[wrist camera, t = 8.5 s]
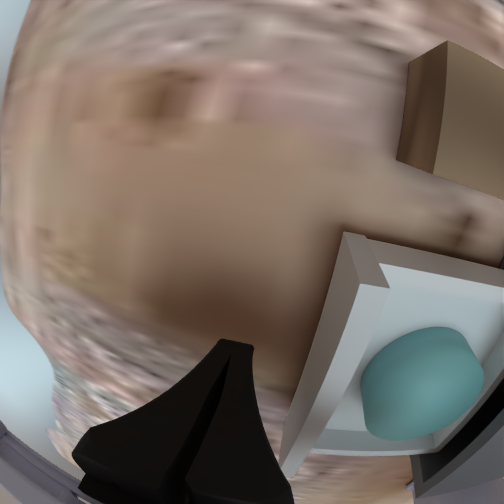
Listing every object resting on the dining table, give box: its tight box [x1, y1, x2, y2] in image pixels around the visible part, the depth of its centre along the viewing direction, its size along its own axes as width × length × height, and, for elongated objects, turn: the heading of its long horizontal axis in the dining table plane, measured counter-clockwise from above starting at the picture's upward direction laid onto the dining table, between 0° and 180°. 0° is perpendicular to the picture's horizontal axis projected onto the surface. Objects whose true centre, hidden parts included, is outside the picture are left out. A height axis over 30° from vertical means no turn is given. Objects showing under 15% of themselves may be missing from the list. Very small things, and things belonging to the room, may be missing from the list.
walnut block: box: [396, 40, 504, 200], centre depth 7 cm, size 4×4×4 cm
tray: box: [278, 232, 504, 478], centre depth 10 cm, size 11×10×4 cm
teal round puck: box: [360, 327, 484, 441], centre depth 10 cm, size 6×6×2 cm
